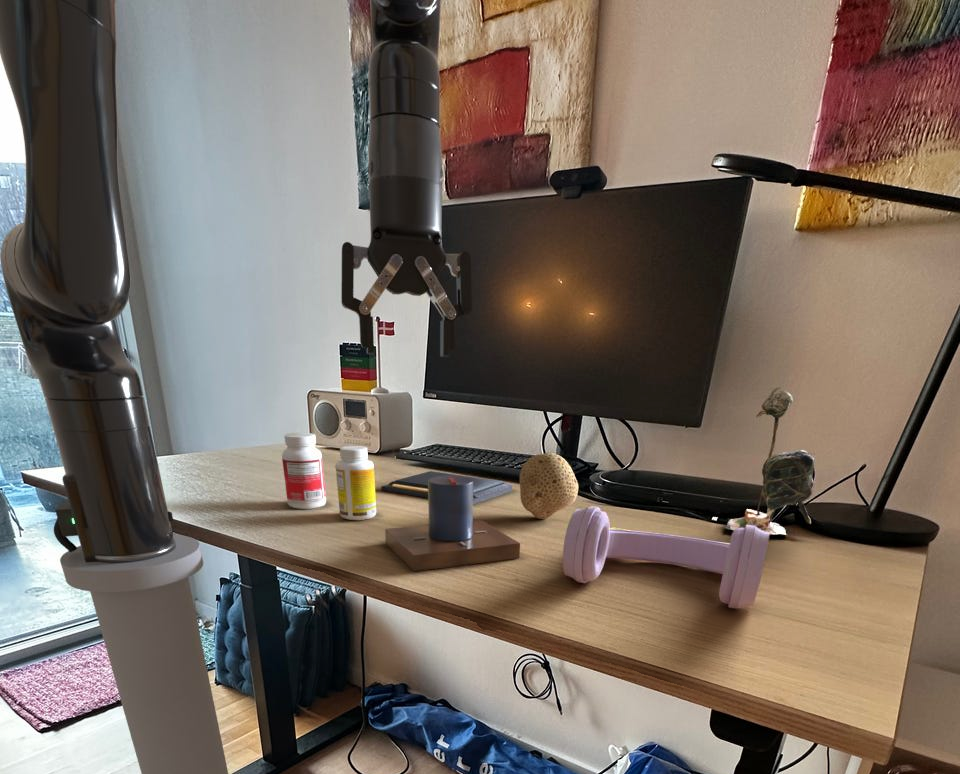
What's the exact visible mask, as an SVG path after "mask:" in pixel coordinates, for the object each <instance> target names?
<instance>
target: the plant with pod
mask: <svg viewBox="0 0 960 774" xmlns="http://www.w3.org/2000/svg"><path fill="white" fill-rule="evenodd" d="M793 401H794V397H793V395H792V394H790V392H788V391H786V390H785V389H783V388H782V387H780V386H777V387H774V388H773V389H772V390H771V392H770V393H769V394H768V396H767V397H766V398H765V399H764V401H763V402H762V404H761V410H760V411H759V412H758V413H757V414H756V418H758V419H759V418H761V417H762V415H766V416H772V417H773V418H774V421H773V422H774V423H773V431H772V434H773V435H772V439H771V445H770V449H769V453H768V457H767V459H766V460H765V461H764V463H763V466H762V469H761V475H762V477H763V478H762V487H761V492H760V496H759V501H758V506H757V510H754V509H748V508H747V509H746V510H745V511H744V516H743V517H742V516H741V517H739V518H728V521H727V523H726V524H727V525H726V526H725V527H724V528H725V529H727V530H732V531H735V530H736V529H738V528H746V525H752V526H756V527H757V528H758V529H760V530H762V531H764V532H767V533H769V536H776V535H779V536H787V533H786V531H787V530H786V529H785V527H783V526H782V525H781V524H779V523H777V522H772V519H773V516H774V514H775V512H776V510H778V509H781V508H784V507H786V506H788V505H790V506H795V505H796V504H797V505H798V508H799V510H800V512H801V515H802V516H803V517H804V520H805V521H806V523H807V524H808V525H811V524H812V519H811V518H810V516H809V513H808V511H807V508H806V506H805V504H804V502H805V501H807V500H809V499H810V498H811V496H812V495H813V487H814V480H813V474H814V471H815V458H814V455H815V453H810V452H808V451H806V450H803V449H799V450H797V449H796V450H791V451H785V452H780V453H778V454H773V452H774V448H775V444H776V436H777V431H778V427H779V422H780V419H781V418H782V417H784V416H785V415H786V413H787V412H788V410H789V408H790V406H791V405H792V404H793ZM763 499H764V501H765V503H766V508H767V510H766V513H764V512H761V511H759V510H760V507H761V505H762V501H763Z"/></svg>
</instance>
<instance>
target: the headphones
mask: <svg viewBox="0 0 960 774" xmlns="http://www.w3.org/2000/svg"><path fill="white" fill-rule="evenodd" d="M769 540H770V535H769V533H767V532H764V531H762V530H760V529H758V528H757V527H756V526H752V525H746V528H738V529H736V530H733V531H732V533H731V536H730V540H729V542H723V541H716V540H710V539H703V538H695V537H688V536H681V535H675V534H668V533H667V534H666V533H659V532H658V533H657V532H649V531H639V530H632V529H631V530H630V529H626V528H619V527H611V524H610V518H609V516H608V514H607V512H606V511H603V510H601V508H600V507H599V506H588V507H586V508H583V509H582V508H581V509H578V508H577V509H576V510H574V511H573V513H572V514H571V517H570V519H569V522H568V524H567V528H566V532H565V536H564V541H563V542H564V543H563V547H562V570H563V573H564V575H565V576H566V577H570V578H571V579H573V580H574V581H575V582H577V583H581V584H587V583H588V582H593V581H595V580H597V578H598V577H599V576H600V574H601V572H602V570H603V568H604V565H605V561H606V559H621V560H623V559H624V560H635V561H636V560H637V561H646V562H653V563H663V564H670V565H676V566H683V567H687V568H694V569H698V570H703V571H708V572H713V573H716V574H721V575H722V576H721V582H720V585H719V591H718V592H719V593H718V597H719V600H720V602H722V603H724V604H727V605H728V608H729V609H740V608H743V607H753V606H755V605H754V604H755V601H756V598H757V594H758V591H759V587H760V583H761V578H762V574H763V571H764V570H763V569H764V565H765V561H766V557H767V551H768V545H769Z"/></svg>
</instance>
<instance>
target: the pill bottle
mask: <svg viewBox="0 0 960 774" xmlns="http://www.w3.org/2000/svg"><path fill="white" fill-rule="evenodd" d="M284 443H285V445H286V449H284V450H283V451H282V453H281V460H282V468H283V476H284V485H285V492H286V493H285V494H286V500H287V505H288V506H289V507H290V508H292V509H299V510H311V509H316V508H321V507H323V506H325V505H326V503H327V494H326V484H325V474H324V464H323V455H322V452H321V451H320V449H318V448H316V447H315V446H316V445H317V444H316V443H317V439H316V434H315V433H311V432H291V433H286V434H284Z"/></svg>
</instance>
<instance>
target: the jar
mask: <svg viewBox="0 0 960 774" xmlns="http://www.w3.org/2000/svg"><path fill="white" fill-rule="evenodd" d="M427 502H428V503H427V505H428V507H427V508H428V525H429V536H430V537H431V538H432V539H435V540H439V541H449V542H454V541H463V540H467V539H470V538H471V537H472V530H473V521H474V519H473V518H474V505H473V480H472V479H470V478H466V477H460V476H439V477H433V478H430V479H429V480H428V498H427Z"/></svg>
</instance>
